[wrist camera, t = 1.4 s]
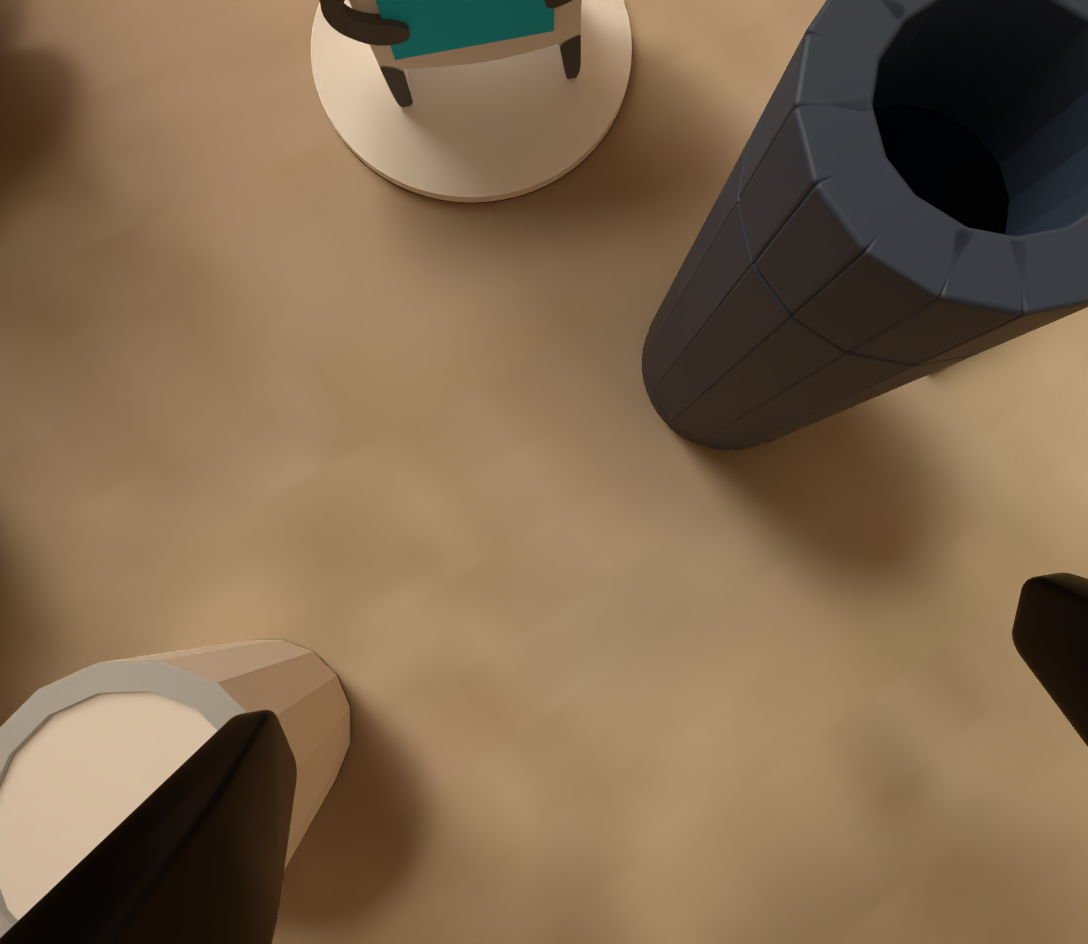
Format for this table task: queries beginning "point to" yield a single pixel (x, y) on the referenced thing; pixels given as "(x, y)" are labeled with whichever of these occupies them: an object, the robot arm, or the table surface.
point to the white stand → (471, 88)
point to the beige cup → (148, 748)
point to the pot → (883, 216)
